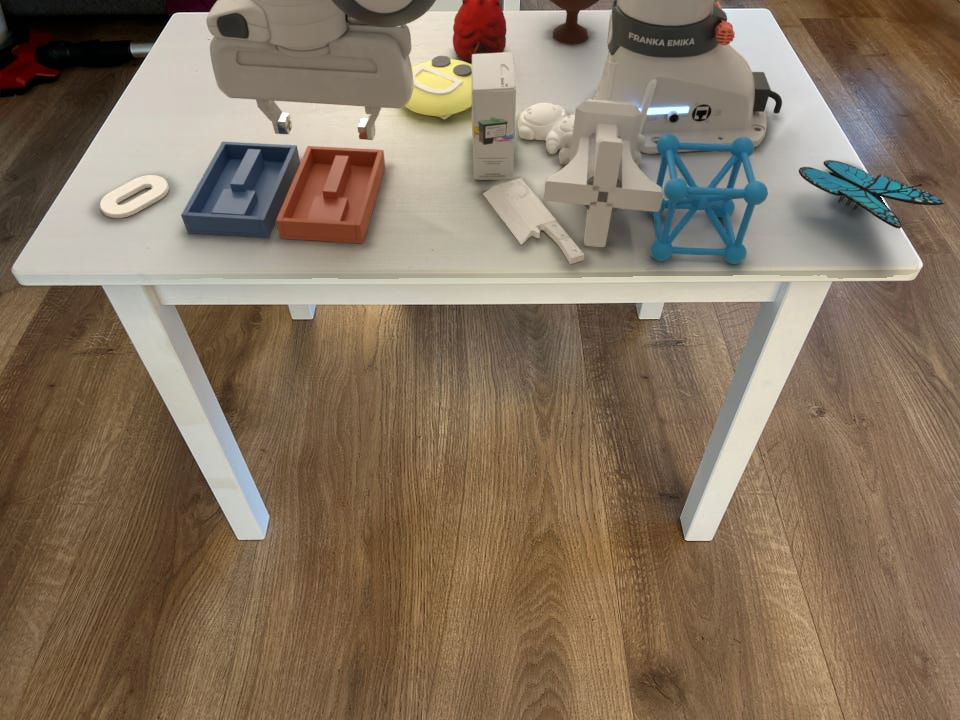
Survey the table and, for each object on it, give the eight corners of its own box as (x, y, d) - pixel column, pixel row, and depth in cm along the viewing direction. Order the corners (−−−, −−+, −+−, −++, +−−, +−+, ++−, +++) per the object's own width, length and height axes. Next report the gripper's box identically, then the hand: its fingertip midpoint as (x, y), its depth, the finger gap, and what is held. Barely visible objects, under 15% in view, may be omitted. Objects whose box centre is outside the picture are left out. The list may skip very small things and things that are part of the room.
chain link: (115, 219, 84) (91, 201, 86) (117, 223, 85) (93, 206, 87) (175, 186, 88) (151, 169, 90) (177, 190, 89) (152, 173, 91)
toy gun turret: (551, 125, 72) (560, 52, 85) (539, 240, 82) (549, 159, 95) (676, 136, 72) (667, 61, 85) (650, 252, 81) (645, 168, 94)
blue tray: (300, 162, 92) (296, 145, 91) (268, 238, 83) (263, 219, 81) (227, 159, 93) (221, 141, 91) (187, 233, 84) (180, 215, 82)
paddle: (274, 165, 91) (270, 149, 90) (246, 223, 84) (241, 207, 82) (243, 163, 91) (238, 148, 90) (213, 221, 84) (208, 205, 83)
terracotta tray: (385, 167, 92) (383, 149, 90) (362, 243, 83) (360, 225, 81) (311, 163, 92) (307, 145, 90) (280, 238, 83) (275, 220, 81)
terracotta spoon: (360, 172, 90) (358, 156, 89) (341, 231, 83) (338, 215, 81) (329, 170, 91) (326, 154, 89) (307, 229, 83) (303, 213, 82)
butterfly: (880, 254, 76) (910, 211, 73) (769, 193, 82) (793, 150, 79) (931, 224, 90) (957, 186, 87) (832, 173, 95) (854, 136, 92)
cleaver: (541, 273, 79) (542, 265, 78) (483, 195, 88) (483, 187, 88) (584, 260, 81) (585, 252, 80) (522, 183, 90) (522, 175, 89)
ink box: (471, 140, 96) (470, 50, 87) (511, 140, 96) (513, 50, 87) (472, 181, 90) (471, 89, 81) (514, 180, 90) (517, 88, 81)
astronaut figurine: (572, 168, 92) (575, 146, 89) (503, 128, 97) (504, 107, 95) (619, 140, 95) (623, 118, 93) (550, 103, 101) (551, 82, 99)
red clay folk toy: (504, 45, 112) (506, -65, 101) (507, 69, 107) (510, -43, 96) (452, 46, 112) (449, -63, 100) (454, 70, 107) (450, -42, 96)
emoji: (446, 110, 94) (503, 65, 99) (375, 81, 99) (433, 39, 104) (449, 137, 97) (504, 91, 102) (380, 108, 102) (436, 65, 107)
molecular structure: (754, 132, 79) (657, 129, 79) (773, 191, 72) (667, 186, 73) (730, 210, 86) (642, 206, 87) (745, 269, 80) (649, 265, 80)
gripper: (414, -2, 73) (424, 123, 84) (212, -12, 75) (246, 112, 86) (402, 30, 70) (413, 157, 80) (188, 19, 71) (227, 144, 82)
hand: (325, 134), depth 83 cm, fingers open, 8 cm apart
